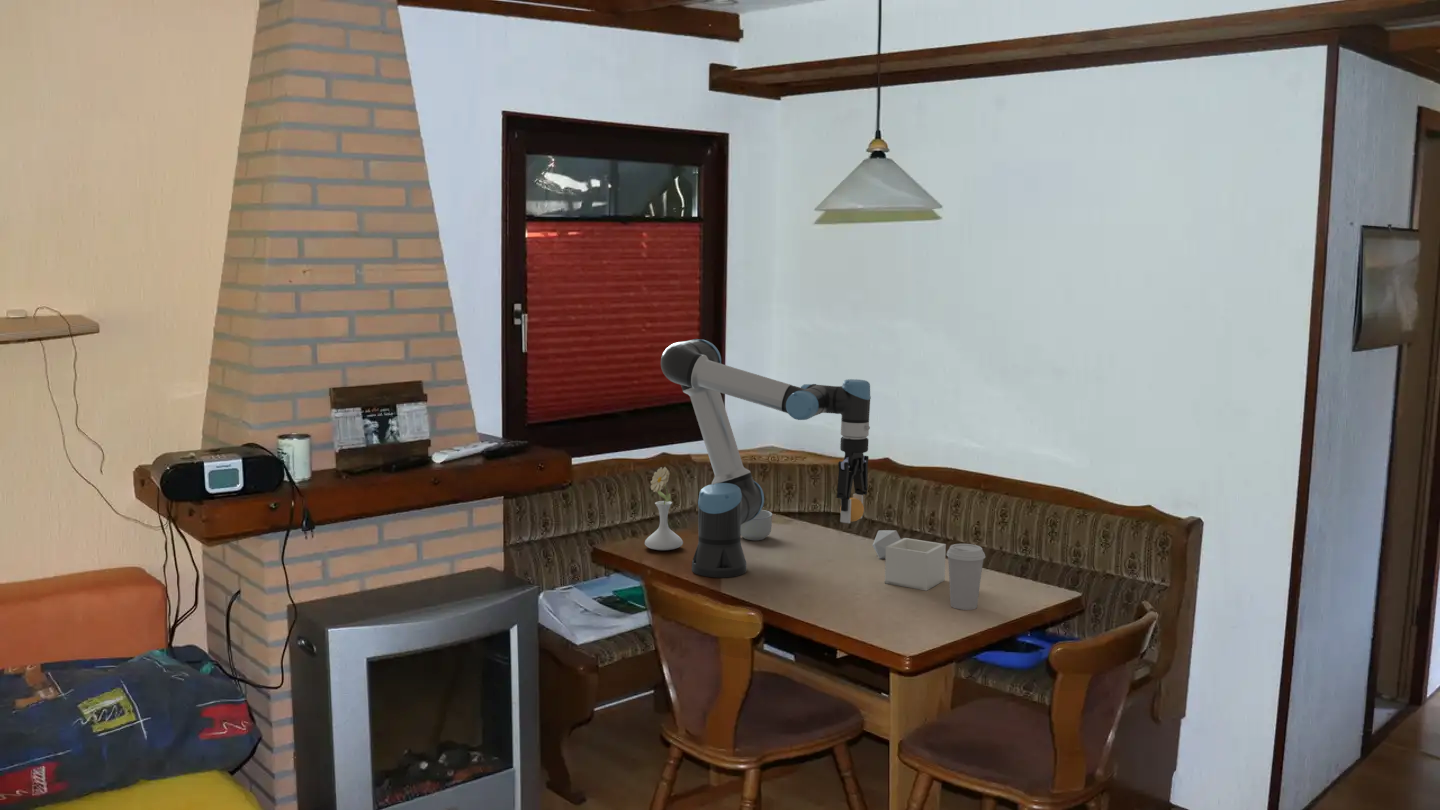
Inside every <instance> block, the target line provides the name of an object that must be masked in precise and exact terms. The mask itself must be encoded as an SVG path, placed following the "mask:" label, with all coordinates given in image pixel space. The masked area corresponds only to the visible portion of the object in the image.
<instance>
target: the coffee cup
mask: <svg viewBox="0 0 1440 810" xmlns="http://www.w3.org/2000/svg"><path fill="white" fill-rule="evenodd" d="M946 556H947V560H948V576H949V578H948V579H949V596H950V597H949V600H950V606H951V608H954V609H956V610H963V611H971V610H975V609H977V608H978V603H979V594H980V587H981V579H982V571H983V564H984V559H985V558H986V554H985V552H984V550H983V547H981V546H980V545H976V544H972V543H955V544H951V545H950V546H949V548H948V549H947V551H946V554H945V557H946Z"/></svg>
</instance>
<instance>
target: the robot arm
mask: <svg viewBox="0 0 1440 810" xmlns="http://www.w3.org/2000/svg"><path fill="white" fill-rule="evenodd" d="M660 368H661V371H662V373H663V375H664V377H665V378H666V379H668V381H670V382H672V383H674V384H677V385H680V387H681V390H682V392H683V393H684V394H686V395H688V396H689V399H690V401H691V404H692V407H693V410H694V414H695V416H696V417H695V418H696V421H697V422H698V423H697V424H698V426H699V427H698V428H699V429H700V433H701V436H702V439H703V441H704V447H705V449H706V453H707V455H708V458H709V462H710V464H711V468H712V470H713V474H714V477H713V480H712V481H711V484H708V485H705V486H703V488H701V489H700V491H699V493H698V494H699V495H698V500H697V504H698V505H697V507H698V512H697V513H698V515H697V517H698V523H697V524H698V530H697V531H698V536H697V537H698V540H697V541H698V542H697V546H696V549H695V551H694V555H693V558H692V561H691V572H692V573H694V574H696V575H698V576H702V577H708V578H731V577H732V578H733V577H737V576H742V575H743V574H746V572H747V571H748V569H747V567H748V566H747V565H748V563H747V560H746V557H745V553H744V550H743V547H742V542H741V525H742V524H743V523H745V522H748V521H751V520H752V519H753V518H755V517H756V516H757V515H758V514H759V513H760V511H761V510H763V507H764V504H765V494H764V490H763V488H762V487H761V485H760V484H759V482H756V481H755V480H754V477H753V475H752V473H751V470H750V469H748V468H746V467H744V464H743V461H742V458H741V454H740V452H739V447H738V445H737V442H736V438H735V436H734V432H733V429H732V426H731V423H730V420H729V417H728V413H727V410H726V406H725V403H724V401H723V397H722V394H723V395H727V396H730V397H734V398H737V399H740V400H743V401H747V402H750V403H753V404H756V405H760V406H763V407H766V408H770V409H772V410H777V411H779V412H783V413H785V414H788V415H789V416H790V418H792V419H794V420H797V421H805V420H806V421H807V420H810V419H811V418H814V417H815V416H818V415H821V414H837V415H841V422H840V423H841V424H840V425H841V426H840V435H841V436H842V437H841V438H840V443H839V445H840V447H839V449H840V451H842V452H844V457H843V461H840V460H839V461H838V462H837V464H838V475H837V476H838V477H837V489H836V490H837V492H836V497H837V499H839V500H841V501H840V506H841V513H840V519H839V522H840V523H844V524H851V522H852V521H851V499H850V498H851V494H852V488H854V493H853V494H852V498H856V499H858V500H860V501H861V502H862V504H863V505H864V495H867V494H868V484H869V483H868V480H869V479H868V476H869V475H868V473H869V472H868V468H869V465H868V464H869V458H870V457H869V455H864V453H867V452H869V438H868V437H869V436H870V435H869V430H870V428H871V427H870V412H871V411H870V410H871V400H872V398H871V397H872V396H871V384H870V382H869V381H867V380H865V379H857V378H856V379H852V378H851V379H850V378H849V379H845V380H843V381H842V384H841V385H839V386H838V385H836V386H835V385H826V384H816V383H807V384H803V385H801V386H800V387H799V386H795V385H792V384H789V383H786V382H783V381H780V380H776V379H772V378H770V377H766V376H763V375H760V374H756V373H753V372H750V371H747V370H743V369H739V368H737V367H734V366H729V365H727V364H723V363H722V356H721V353H720V351H719V350H718V348H717V347H716V345H714V344H713V342H710V341H708V340H705V339H698V338H694V339H689V340H684V341H678V342H674V343H672V344H670V345H669V346H668V347H666V348H665V350H664V351H663V352H662V355H661V358H660ZM860 519H861V520H862V519H863V516H862V517H861V518H860ZM860 519H859V520H860Z"/></svg>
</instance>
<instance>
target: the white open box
mask: <svg viewBox="0 0 1440 810" xmlns="http://www.w3.org/2000/svg"><path fill="white" fill-rule="evenodd" d="M946 547H947V544H946V543H941V542H935V541H928V540H921V539H916V538H908V537H903V538H901V540H899V541H897V542H895V543H893V544H891V545H888V546H886V558H885V559H884V561H885V563H884V566H885V567H884V584H886V585H893V586H899V587H903V588H910V589H915V590H920V591H926V592H927V591H929V590H930V589H932V588H934V587H935V586H937V585H939V584H941V583H943V582H944V581H945V577H946V553H947V551H946V550H947V549H946Z"/></svg>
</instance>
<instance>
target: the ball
mask: <svg viewBox="0 0 1440 810" xmlns="http://www.w3.org/2000/svg"><path fill="white" fill-rule="evenodd" d="M850 499H851V522H857V521H858V520H860V518H861V517H862V518H863V515H864V512H865V508H864V503H863V504H862V502H861V501H860V500H858V499H856V498H853V497H850ZM839 513H840V514H841V505H840V507H839ZM862 518H861V519H862Z"/></svg>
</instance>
